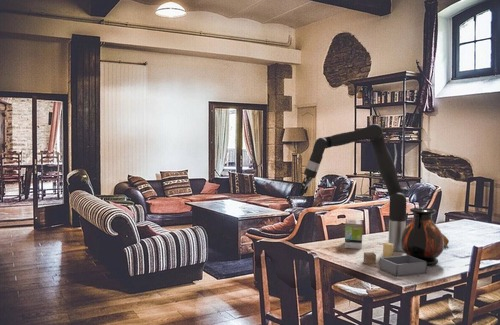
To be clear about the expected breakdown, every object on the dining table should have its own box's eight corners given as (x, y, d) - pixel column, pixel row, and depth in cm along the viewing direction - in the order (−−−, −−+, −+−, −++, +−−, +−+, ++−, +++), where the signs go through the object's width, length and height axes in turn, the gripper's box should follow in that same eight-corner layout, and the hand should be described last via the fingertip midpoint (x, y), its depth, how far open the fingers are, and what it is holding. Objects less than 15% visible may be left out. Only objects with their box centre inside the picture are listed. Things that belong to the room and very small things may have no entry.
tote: (408, 265, 237) (408, 255, 237) (426, 273, 224) (427, 261, 224) (379, 268, 231) (379, 257, 231) (396, 276, 219) (396, 264, 218)
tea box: (362, 249, 272) (362, 224, 271) (344, 248, 274) (345, 223, 273) (361, 243, 286) (362, 219, 286) (344, 242, 288) (345, 218, 288)
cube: (363, 261, 244) (363, 252, 244) (373, 261, 244) (373, 252, 244) (366, 264, 239) (366, 254, 239) (375, 264, 239) (376, 254, 239)
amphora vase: (408, 254, 260) (410, 204, 258) (449, 261, 246) (451, 209, 244) (393, 262, 243) (394, 209, 242) (435, 270, 229) (437, 214, 228)
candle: (388, 261, 245) (389, 242, 245) (394, 263, 241) (395, 244, 240) (380, 262, 244) (381, 243, 243) (386, 264, 239) (387, 245, 238)
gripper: (315, 171, 275) (305, 197, 278) (319, 170, 289) (310, 194, 291) (303, 167, 277) (294, 192, 280) (308, 166, 291) (299, 190, 293)
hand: (302, 193), depth 285 cm, fingers open, 8 cm apart
